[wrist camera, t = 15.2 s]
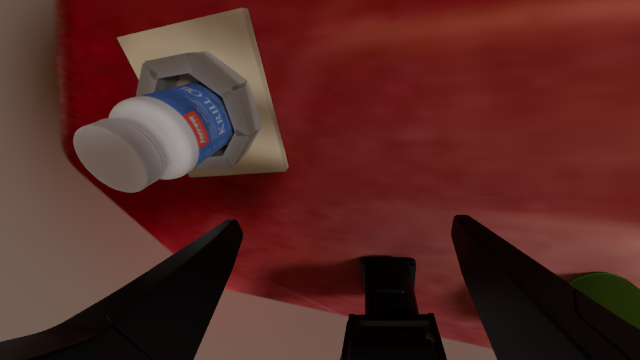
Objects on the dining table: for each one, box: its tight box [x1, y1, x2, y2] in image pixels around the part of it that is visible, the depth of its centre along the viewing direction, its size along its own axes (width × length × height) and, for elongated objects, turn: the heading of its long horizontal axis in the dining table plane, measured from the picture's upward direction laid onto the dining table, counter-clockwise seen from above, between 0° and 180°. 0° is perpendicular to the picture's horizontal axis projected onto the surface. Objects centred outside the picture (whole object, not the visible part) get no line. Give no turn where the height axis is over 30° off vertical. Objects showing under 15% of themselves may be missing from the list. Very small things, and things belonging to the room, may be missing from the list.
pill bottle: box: [73, 81, 235, 193], centre depth 16 cm, size 6×5×10 cm
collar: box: [117, 8, 289, 178], centre depth 20 cm, size 13×11×4 cm
